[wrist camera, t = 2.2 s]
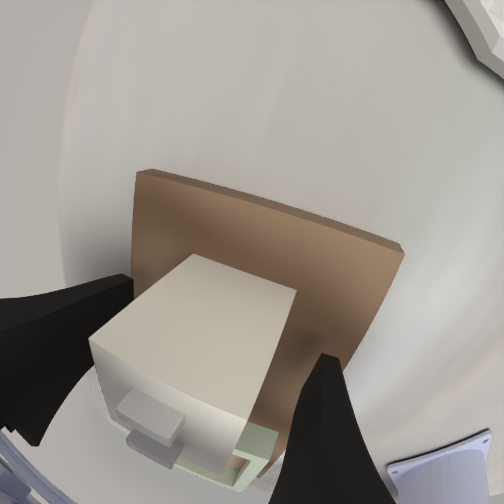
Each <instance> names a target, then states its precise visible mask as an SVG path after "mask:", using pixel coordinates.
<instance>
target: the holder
mask: <svg viewBox="0 0 504 504" xmlns="http://www.w3.org/2000/svg"><path fill="white" fill-rule="evenodd" d="M278 434H279V432H277V431H274V430H271V429H268V428H265V427H262V426H259V425H256V424H253V423H250V422H248V421H247V422H246V425H245V427H244V429H243V431H242V433H241V435H240V437H239V440H238V442H237V444H236V446H235V448H234V450H233V452H232V454H231V456H230V458H229V460H228V462H227V464H226V466H225V468H224V470H223V472H222V474H221V475H220V474H217V473H215V472H212V471H210V470H207V469H205V468H203V467H200V466H198V465H196V464H193V463H191V462H189V461H187V460H185V459H182V458H180V457H178V459H177V460H176V462H175V464H174V465H173V466H175V467H178V468H180V469H182V470H184V471H186V472H188V473H191V474H193V475H195V476H197V477H200V478H202V479H205V480H207V481H210V482H212V483H215V484H218V485H220V486H223V487H225V488H228V489H231V490H234V491H237V492H240V493H241V492H242V491H243V490H244V489H245V488H246V487H247V486H248V485H249V484H250V482H251V481H252V480H253V479H254V478H255V477H256V476H257V475H258V473H259V472H260V471H261V470H262V469H263V468H264V466H265V465H266V464H267V463H268V462H269V461H270V458H271V455H272V452H273V449H274V446H275V443H276V440H277V437H278Z"/></svg>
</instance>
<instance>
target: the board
mask: <svg viewBox="0 0 504 504" xmlns="http://www.w3.org/2000/svg"><path fill="white" fill-rule="evenodd" d="M192 254H196V255H199V256H201V257H204V258H207V259H210V260H212V261H215V262H218V263H221V264H224V265H226V266H229V267H232V268H235V269H238V270H240V271H243V272H246V273H249V274H252V275H255V276H257V277H260V278H263V279H266V280H269V281H272V282H275V283H277V284H280V285H283V286H286V287H289V288H292V289H295V290H297V291H296V294H295V297H294V300H293V303H292V306H291V309H290V311H289V314H288V317H287V320H286V323H285V326H284V328H283V331H282V334H281V337H280V339H279V342H278V345H277V347H276V350H275V353H274V355H273V358H272V361H271V363H270V366H269V368H268V371H267V374H266V376H265V379H264V381H263V384H262V386H261V389H260V391H259V394H258V396H257V399H256V401H255V403H254V406H253V408H252V411H251V413H250V415H249V418H248V420H247V421H248V422H250V423H253V424H256V425H259V426H262V427H265V428H268V429H271V430H274V431H277V432H279V434H278V437H277V440H276V443H275V446H274V449H273V452H272V455H271V458H270V461H269V462H268V463H267V464H266V465H265V466H264V468H263V469H262V470H261V471H260V472H259V473H258V475H257V476H256V477H257V478H261V477H262V475H263V474H264V473H265V472H266V471H267V470H268V469H269V468H270V467H271V466H272V465H273V463H274V462H275V461H276V460H277V459H278V458H279V457H280V455H281V454H282V453H283V452H284V451H285V449H286V447H287V443H288V438H289V433H290V429H291V424H292V419H293V414H294V411H295V408H296V404H297V401H298V398H299V395H300V392H301V389H302V387H303V385H304V384H305V382H306V380H307V378H308V377H309V375H310V373H311V371H312V369H313V368H314V366H315V364H316V362H317V360H318V358H319V357H320V355H321V353H324V354H328V355H331V356H334V357H338V358H339V360H340V363H341V367H342V372H343V370H344V369H345V367H346V366H347V364H348V362H349V361H350V359H351V358H352V356H353V354H354V353H355V351H356V349H357V348H358V346H359V344H360V342H361V341H362V339H363V337H364V336H365V334H366V332H367V330H368V328H369V327H370V325H371V323H372V321H373V319H374V317H375V316H376V314H377V312H378V310H379V308H380V306H381V304H382V302H383V300H384V298H385V296H386V294H387V292H388V290H389V288H390V286H391V284H392V282H393V280H394V277H395V275H396V273H397V271H398V269H399V266H400V264H401V262H402V260H403V257H404V255H405V254H404V252H403V250H402V248H401V246H400V244H398V243H395V242H393V241H390V240H387V239H385V238H382V237H379V236H376V235H374V234H371V233H368V232H365V231H363V230H360V229H357V228H354V227H351V226H348V225H345V224H342V223H339V222H337V221H334V220H331V219H328V218H325V217H322V216H319V215H315V214H312V213H309V212H306V211H303V210H300V209H297V208H293V207H290V206H287V205H284V204H281V203H277V202H274V201H271V200H267V199H264V198H260V197H257V196H254V195H250V194H247V193H243V192H240V191H236V190H232V189H229V188H225V187H222V186H218V185H214V184H210V183H207V182H203V181H199V180H195V179H191V178H187V177H183V176H179V175H175V174H171V173H167V172H162V171H158V170H154V169H149V170H144V171H139V172H137V173H136V182H135V193H134V206H133V223H132V250H131V278H132V279H134V300H135V299H136V298H138V297H139V296H140V295H141V294H143V293H144V292H145V291H146V290H148V289H149V288H150V287H151V286H153V285H154V284H155V283H156V282H158V281H159V280H160V279H161V278H163V277H164V276H165V275H167V274H168V273H169V272H170V271H172V270H173V269H174V268H175V267H177V266H178V265H179V264H181V263H182V262H183V261H184V260H186V259H187V258H188V257H190V256H191V255H192Z"/></svg>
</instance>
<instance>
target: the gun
mask: <svg viewBox="0 0 504 504" xmlns="http://www.w3.org/2000/svg"><path fill="white" fill-rule="evenodd" d="M445 2H446V3H447V5H448V7H449V8H450V10H451V11H452V13H453V15H454V16H455V18H456V20H457V21H458V23H459V25H460V26H461V28H462V30H463V32H464V34H465V35H466V37H467V39H468V41H469V43H470V45H471V47H472V49H473V51H474V53H475V55H476V57H477V59H478V60H479V61H480V62H482V63H483V64H485V65H486V66H487V67H489V68H490V69H491V70H493V71H494V72H495V73H497V74H498V75H499V76H500V77H502V78H503V79H504V0H445Z"/></svg>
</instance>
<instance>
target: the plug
mask: <svg viewBox="0 0 504 504" xmlns="http://www.w3.org/2000/svg"><path fill="white" fill-rule="evenodd" d="M296 291H297V290H295V289H292V288H289V287H286V286H283V285H280V284H277V283H275V282H272V281H269V280H266V279H263V278H260V277H257V276H255V275H252V274H249V273H246V272H243V271H240V270H238V269H235V268H232V267H229V266H226V265H224V264H221V263H218V262H215V261H212V260H210V259H207V258H204V257H201V256H199V255H196V254H192V255H191V256H190V257H188V258H187V259H186V260H184V261H183V262H182V263H181V264H179V265H178V266H177V267H175V268H174V269H173V270H172V271H170V272H169V273H168V274H167V275H165V276H164V277H163V278H161V279H160V280H159V281H158V282H156V283H155V284H154V285H153V286H151V287H150V288H149V289H148V290H146V291H145V292H144V293H143V294H141V295H140V296H139V297H138V298H136V299H135V300H134V301H133V302H132V303H130V304H129V305H128V306H127V307H125V308H124V309H123V310H122V311H121V312H119V313H118V314H117V315H116V316H114V317H113V318H112V319H111V320H110V321H108V322H107V323H106V324H105V325H104V326H102V327H101V328H100V329H99V330H98V331H96V332H95V333H94V334H93V335H92V336H91V337H89V338H88V339H89V343H90V347H91V352H92V356H93V360H94V364H95V367H96V371H97V375H98V378H99V382H100V385H101V388H102V392H103V395H104V398H105V401H106V404H107V407H108V410H109V413H110V416H111V418H112V419H113V420H114V421H116V422H118V423H119V424H121V425H122V426H124V427H125V428H127V429H129V430H130V431H131V433H130V434H129V435H128V437H127V438H126V442H127V445H128V446H129V447H131V448H132V449H134V450H136V451H137V452H139V453H141V454H143V455H144V456H146V457H148V458H150V459H152V460H153V461H155V462H157V463H159V464H161V465H163V466H165V467H167V468H169V469H172V467H173V465H174V464H175V462H176V460H177V459H178V457H180V458H182V459H185V460H187V461H189V462H191V463H193V464H196V465H198V466H200V467H203V468H205V469H207V470H210V471H212V472H215V473H217V474H220V475H221V474H222V472H223V470H224V468H225V466H226V464H227V462H228V460H229V458H230V456H231V454H232V452H233V450H234V448H235V446H236V444H237V442H238V440H239V437H240V435H241V433H242V431H243V429H244V427H245V425H246V422H247V420H248V418H249V415H250V413H251V411H252V408H253V406H254V403H255V401H256V399H257V396H258V394H259V391H260V389H261V386H262V384H263V381H264V379H265V376H266V374H267V371H268V368H269V366H270V363H271V361H272V358H273V355H274V353H275V350H276V347H277V345H278V342H279V339H280V337H281V334H282V331H283V328H284V326H285V323H286V320H287V317H288V314H289V311H290V309H291V306H292V303H293V300H294V297H295V294H296Z"/></svg>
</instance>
